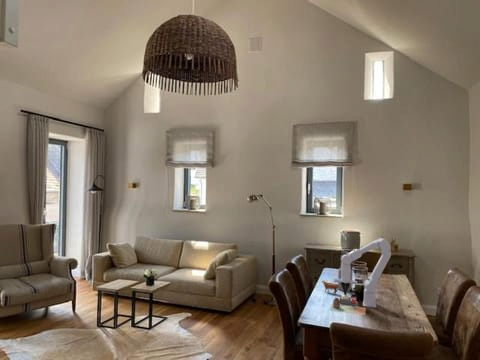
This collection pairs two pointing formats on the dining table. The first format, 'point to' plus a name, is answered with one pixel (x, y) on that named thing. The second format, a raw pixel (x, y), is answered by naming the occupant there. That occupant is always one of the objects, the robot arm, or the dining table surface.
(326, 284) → the bull figurine
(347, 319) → the dining table surface
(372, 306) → the robot arm
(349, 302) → the grey open box
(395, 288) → the dining table surface
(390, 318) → the dining table surface
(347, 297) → the dome
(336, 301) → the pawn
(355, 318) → the dining table surface
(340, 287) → the water bottle
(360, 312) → the game board
